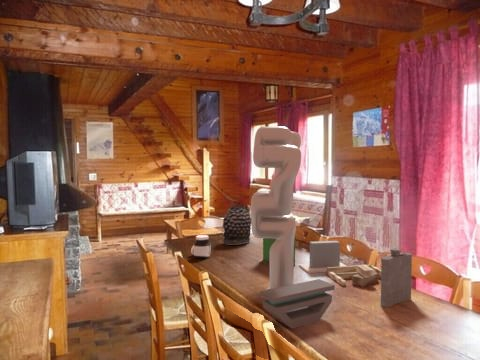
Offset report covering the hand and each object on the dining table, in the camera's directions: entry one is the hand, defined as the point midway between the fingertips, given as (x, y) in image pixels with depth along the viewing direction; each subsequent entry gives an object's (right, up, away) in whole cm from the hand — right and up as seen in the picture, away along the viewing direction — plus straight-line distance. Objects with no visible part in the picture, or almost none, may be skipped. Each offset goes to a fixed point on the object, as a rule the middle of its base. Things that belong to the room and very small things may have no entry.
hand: (281, 197), depth 188 cm
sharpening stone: (0, -38, -57) cm, 68 cm away
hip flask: (+38, -37, -41) cm, 67 cm away
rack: (+33, -36, -12) cm, 50 cm away
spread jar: (-42, -34, +29) cm, 61 cm away
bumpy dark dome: (-21, -32, +63) cm, 74 cm away
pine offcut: (+34, -32, -18) cm, 50 cm away
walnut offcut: (+35, -36, -17) cm, 53 cm away
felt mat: (+22, -35, +5) cm, 41 cm away
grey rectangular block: (+22, -34, +5) cm, 40 cm away
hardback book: (0, -34, +17) cm, 38 cm away
